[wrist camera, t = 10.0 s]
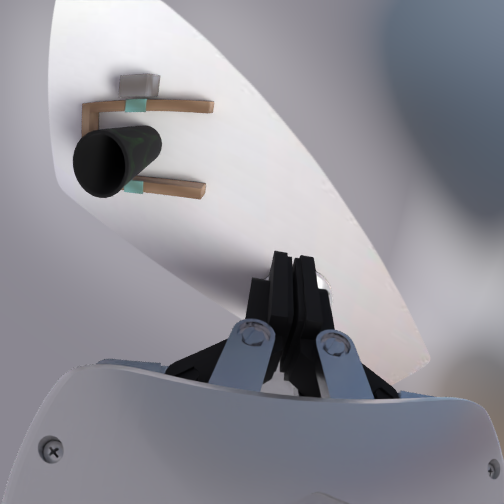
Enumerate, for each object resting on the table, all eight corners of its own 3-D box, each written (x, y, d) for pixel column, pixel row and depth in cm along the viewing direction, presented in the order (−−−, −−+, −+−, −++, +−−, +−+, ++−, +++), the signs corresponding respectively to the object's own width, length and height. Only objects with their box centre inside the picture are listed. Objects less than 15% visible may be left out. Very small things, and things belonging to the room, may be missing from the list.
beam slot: (204, 194, 39) (197, 204, 36) (92, 182, 39) (78, 190, 36) (217, 76, 31) (210, 73, 27) (93, 81, 31) (77, 81, 28)
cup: (118, 163, 37) (70, 189, 27) (126, 114, 34) (76, 125, 23) (162, 175, 38) (123, 205, 28) (174, 124, 34) (133, 137, 24)
